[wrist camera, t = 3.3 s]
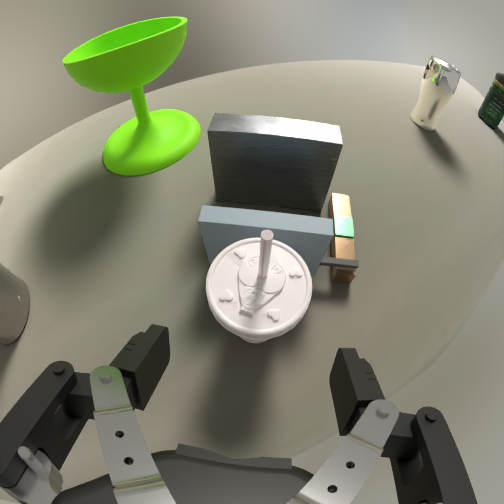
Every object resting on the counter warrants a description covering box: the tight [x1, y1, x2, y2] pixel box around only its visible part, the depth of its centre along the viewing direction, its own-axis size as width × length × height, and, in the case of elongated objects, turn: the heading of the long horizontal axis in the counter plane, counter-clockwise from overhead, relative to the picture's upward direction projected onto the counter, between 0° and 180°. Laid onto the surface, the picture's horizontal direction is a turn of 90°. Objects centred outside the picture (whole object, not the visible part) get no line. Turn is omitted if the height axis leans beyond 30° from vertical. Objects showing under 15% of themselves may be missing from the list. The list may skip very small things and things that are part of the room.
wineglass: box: [62, 17, 201, 176], centre depth 30 cm, size 16×16×18 cm
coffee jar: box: [478, 73, 504, 128], centre depth 43 cm, size 10×8×19 cm
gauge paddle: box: [198, 205, 359, 275], centre depth 23 cm, size 14×2×7 cm, turn 83°
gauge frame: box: [208, 113, 356, 283], centre depth 25 cm, size 15×12×10 cm
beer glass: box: [410, 56, 461, 131], centre depth 37 cm, size 7×7×15 cm
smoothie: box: [206, 230, 312, 343], centre depth 18 cm, size 6×6×14 cm
